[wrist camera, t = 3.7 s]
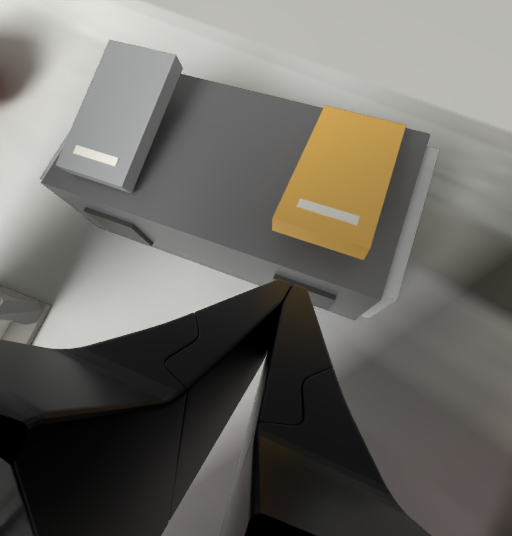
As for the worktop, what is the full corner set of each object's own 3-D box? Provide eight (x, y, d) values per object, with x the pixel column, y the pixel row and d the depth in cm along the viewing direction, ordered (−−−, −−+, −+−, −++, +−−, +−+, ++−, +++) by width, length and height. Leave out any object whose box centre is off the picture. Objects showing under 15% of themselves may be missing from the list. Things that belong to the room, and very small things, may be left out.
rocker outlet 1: (131, 193, 18) (120, 186, 17) (68, 172, 19) (54, 164, 18) (182, 68, 19) (175, 54, 18) (119, 53, 20) (108, 38, 19)
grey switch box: (365, 328, 22) (396, 312, 15) (89, 227, 26) (27, 183, 20) (404, 197, 24) (445, 137, 18) (148, 125, 28) (109, 56, 22)
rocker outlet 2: (363, 260, 15) (370, 248, 14) (272, 230, 15) (272, 217, 15) (399, 140, 18) (406, 124, 17) (321, 121, 19) (324, 104, 18)
